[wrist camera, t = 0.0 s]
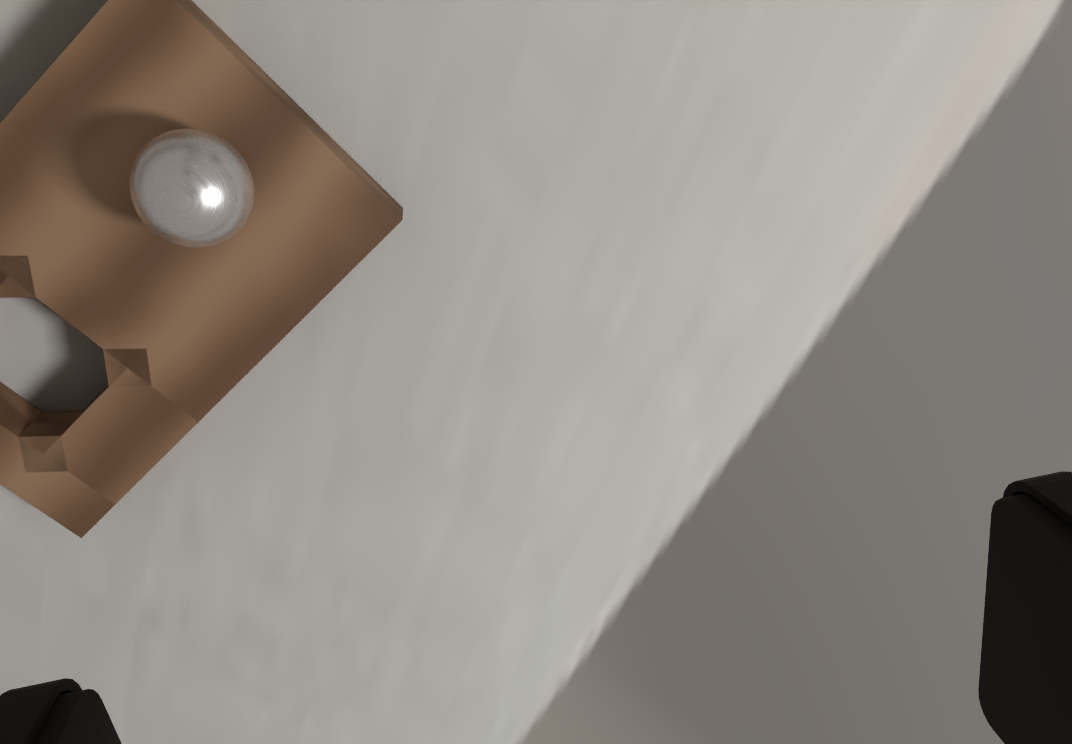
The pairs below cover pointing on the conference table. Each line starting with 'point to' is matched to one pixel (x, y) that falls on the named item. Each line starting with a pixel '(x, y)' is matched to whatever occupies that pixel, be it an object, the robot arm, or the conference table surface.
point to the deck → (160, 243)
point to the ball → (191, 188)
